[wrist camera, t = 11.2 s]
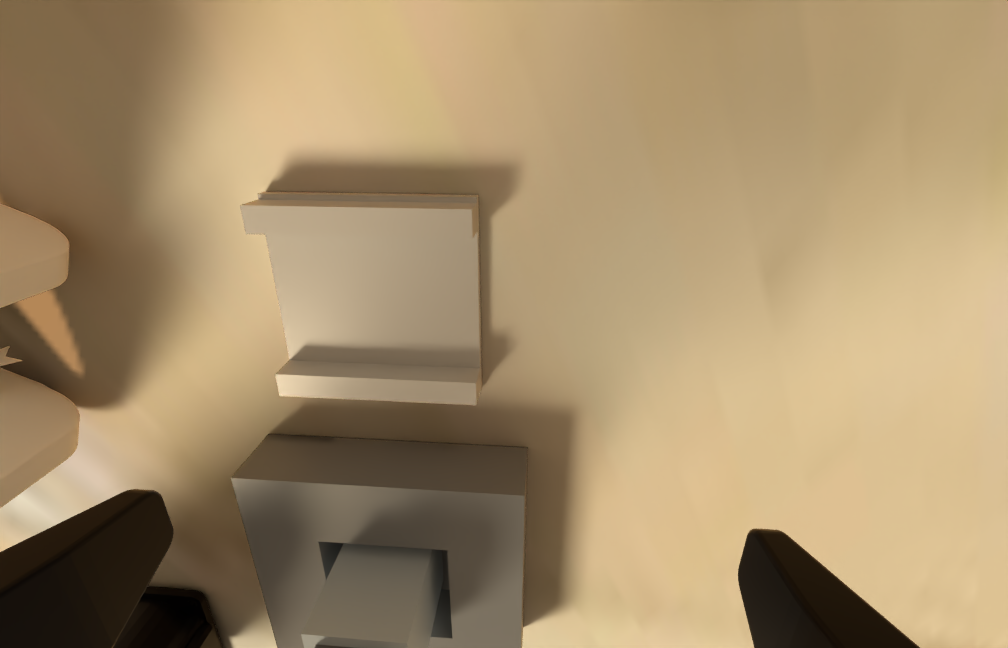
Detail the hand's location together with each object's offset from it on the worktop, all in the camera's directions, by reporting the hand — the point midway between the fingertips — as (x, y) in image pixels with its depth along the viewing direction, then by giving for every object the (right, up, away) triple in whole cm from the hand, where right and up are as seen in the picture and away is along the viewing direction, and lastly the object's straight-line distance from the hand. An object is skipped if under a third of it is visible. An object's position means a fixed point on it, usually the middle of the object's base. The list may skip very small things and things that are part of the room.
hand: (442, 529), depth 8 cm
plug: (-4, -8, +17) cm, 19 cm away
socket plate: (-4, -8, +17) cm, 19 cm away
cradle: (-4, +4, +12) cm, 14 cm away
